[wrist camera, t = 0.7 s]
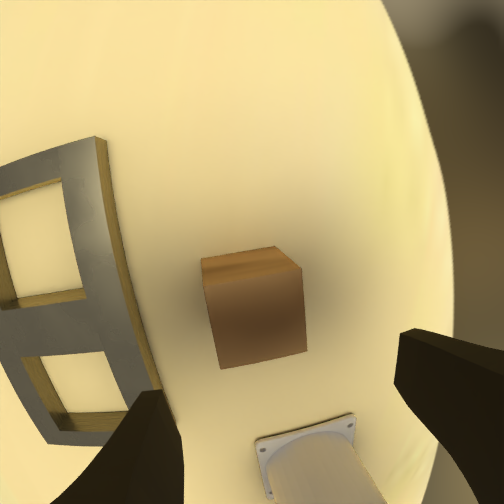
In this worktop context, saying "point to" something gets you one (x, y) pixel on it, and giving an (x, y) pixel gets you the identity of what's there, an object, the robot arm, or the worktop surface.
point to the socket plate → (75, 298)
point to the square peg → (254, 306)
